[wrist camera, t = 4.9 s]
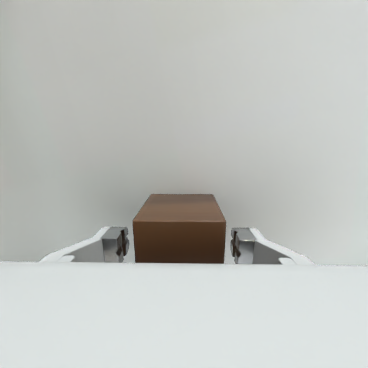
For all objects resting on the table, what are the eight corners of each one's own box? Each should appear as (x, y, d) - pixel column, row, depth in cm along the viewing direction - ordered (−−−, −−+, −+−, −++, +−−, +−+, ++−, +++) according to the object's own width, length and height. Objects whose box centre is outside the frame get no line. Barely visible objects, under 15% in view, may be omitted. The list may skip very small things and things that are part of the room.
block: (150, 193, 13) (131, 220, 9) (213, 194, 13) (226, 221, 9) (153, 249, 14) (137, 298, 10) (211, 250, 14) (222, 299, 10)
